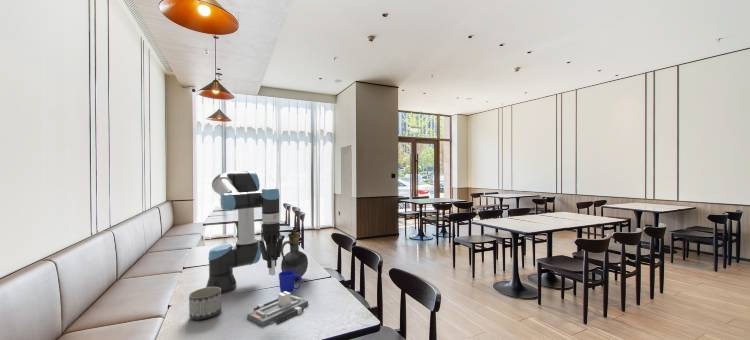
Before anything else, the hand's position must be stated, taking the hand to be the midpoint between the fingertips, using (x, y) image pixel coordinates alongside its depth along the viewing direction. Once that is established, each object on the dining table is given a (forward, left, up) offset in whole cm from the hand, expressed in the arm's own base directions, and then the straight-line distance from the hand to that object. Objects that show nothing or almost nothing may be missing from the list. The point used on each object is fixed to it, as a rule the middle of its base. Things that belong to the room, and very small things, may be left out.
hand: (272, 274), depth 136 cm
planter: (-25, -18, -18) cm, 35 cm away
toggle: (0, +6, -16) cm, 17 cm away
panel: (0, +3, -18) cm, 18 cm away
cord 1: (-8, +3, -18) cm, 20 cm away
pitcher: (-26, +31, -18) cm, 44 cm away
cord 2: (+9, +3, -18) cm, 20 cm away
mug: (-14, +20, -18) cm, 30 cm away
